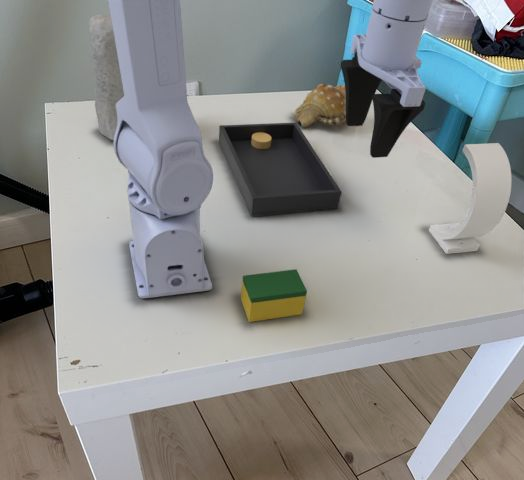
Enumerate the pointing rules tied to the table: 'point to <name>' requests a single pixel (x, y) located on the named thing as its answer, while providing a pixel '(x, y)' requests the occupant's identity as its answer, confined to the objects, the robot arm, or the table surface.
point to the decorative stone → (105, 73)
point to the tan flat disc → (261, 140)
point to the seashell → (323, 106)
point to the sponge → (273, 295)
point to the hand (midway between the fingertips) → (366, 139)
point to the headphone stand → (479, 199)
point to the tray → (278, 170)
